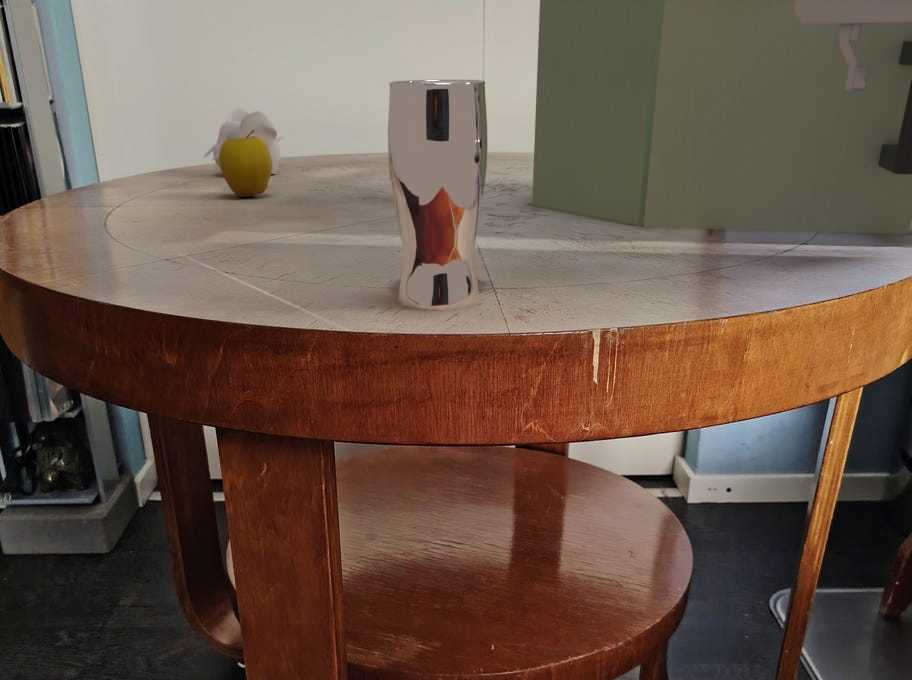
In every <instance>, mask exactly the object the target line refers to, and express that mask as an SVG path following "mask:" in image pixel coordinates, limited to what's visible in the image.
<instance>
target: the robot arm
mask: <svg viewBox="0 0 912 680" xmlns="http://www.w3.org/2000/svg"><path fill="white" fill-rule="evenodd" d="M794 12H795V15H796V17H797V18H798V20H799V21H800V22H801V23H802V24H804V25H819V24H841V27H840V33H839V39H838V42H839V44H840V47H841V50H842V52H843V55H844V58H845V60H846V63H847V65H849V69H848V74H847V80H846V85H845V91H851V90H852V91H865V89H866V84H867V79H866V77H867V75H868V74H869V69H870V65H859V63H858V60H857V57H856V54H855V52H854V49H853V46H852V43H851V40H858V39H859V37H860V31H861V26H862V24H874V23H912V0H796V2H795V9H794Z"/></svg>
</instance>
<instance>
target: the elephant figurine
mask: <svg viewBox="0 0 912 680" xmlns="http://www.w3.org/2000/svg"><path fill="white" fill-rule="evenodd" d="M253 130H254V132H253V133H252V134H251V135H250V136H249V138H250V137H253V136H255V137H259V138H260V139H262V140H263V141H264V142H265V144H266V145H267V147H268V150H269V153H270V156H271V160H272V172H271V174H274V175H276V174H277V172H278V169H279V167H280V162H281V151H280V146H279V143H278V142H279V141H281V140H282V139H284V138H285V136H284V135H281V136H278V132H277V129H276V128H275V127H274V124H273V122H272V121H271V119H270V118H269V117H268V116H267V115H265V114H264V113H263V112H262V111H258V110H255V111H252V112H251V113H249V112H248V111H247V110H245V109H243V108H235V109H233V110H231V111H230V112H229V113H228V114H227V117H226V121H225V122H223V124H222V125H221V126H220V128H219V131H218V137H217V140H216V143H215V144H214V145H213V146H212V147H211V148H210V149H209V150H208V151H206V153H205V154H204V156H203V158H207V157H208V156H209V155H211V153H212V155H213V157H212V158H211V162H212V161H214V162H215V164H216V166H218V167H219V168H220V163H219V153H220V148H221V146H222V144H223V143H224V142H225V141H226V140H228V139H231V138H233V139H241V138H246V137H247V136H248V135H249V134H250V133H251V132H252V131H253Z"/></svg>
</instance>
